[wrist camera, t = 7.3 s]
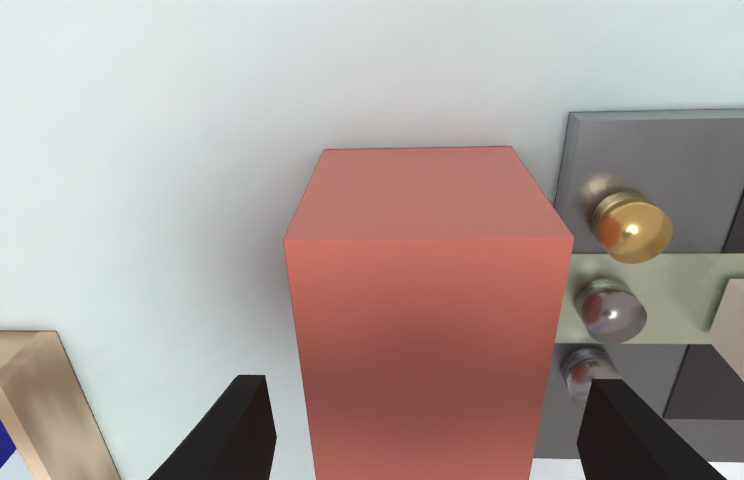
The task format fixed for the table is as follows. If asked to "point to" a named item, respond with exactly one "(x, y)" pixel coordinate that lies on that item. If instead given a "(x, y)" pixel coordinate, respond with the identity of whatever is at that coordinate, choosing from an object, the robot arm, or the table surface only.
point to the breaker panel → (649, 272)
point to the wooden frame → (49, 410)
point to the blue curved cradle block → (5, 445)
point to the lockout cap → (425, 311)
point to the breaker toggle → (730, 326)
